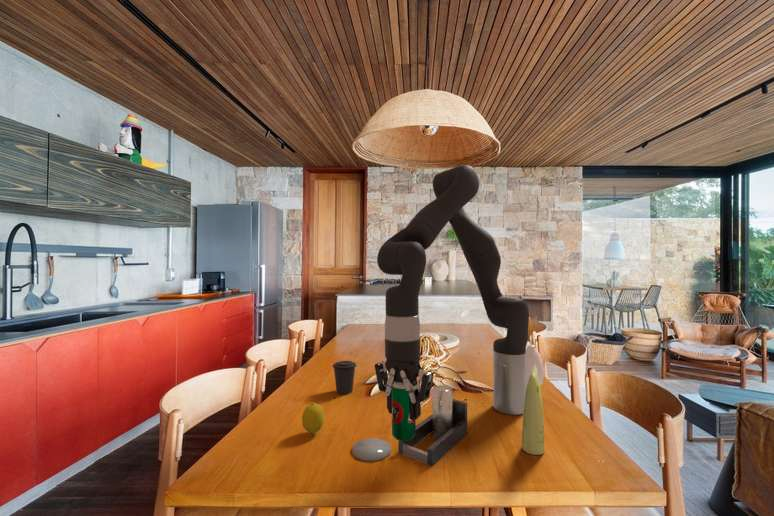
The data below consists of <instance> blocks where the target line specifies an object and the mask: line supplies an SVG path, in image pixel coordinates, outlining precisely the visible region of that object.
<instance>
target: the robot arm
mask: <svg viewBox="0 0 774 516" xmlns="http://www.w3.org/2000/svg"><path fill="white" fill-rule="evenodd" d="M432 189H433V193H434V196H435V199H433V200H432V201H431V202H429V203H428V204H426V205H425V206H424V207H422V208H421V209H420V210H419V211H418V212H417V213H416V214H415V215H414V216H413V218H412V219H411V220H410V222H409V223H408V224H407V225H406V227H404V228H403V229H401V230H399V231H398V232H396V233H395V234H394V235H392V236H391V237H390V238H388V239H387V240H385V242H384V243H383V244H382V245H381V246H380V248H379V250H378V252H377V258H376V261H377V266H378V268H379V270H380V271H382V272H383V273H384V274H386V275H390V276H392V275H393V276H395V275H396V276H401V278H400V282H399V284H398V285H394V286H391V287H388V288H387V289H386V291H385V320H384V356H385V358H386V361H384V360H383V361H380V362H377V363H375V364H374V371H375V374H376V381H377V385H378V387H377V388H378V390H379V391H380V392H383V393H384V394H385V395H386V409H387V410H388V411H387V412H388V413H389V414H391V415H392V400H391V385H392V384H393V381H395V380H396V381H400V382H404V385H405V388H406V391H407V392H408V393H409V396H410V399H411V403H410V416H411V420H413V421H415V420H418V419H419V417H421V414H422V410H421V409H422V406H421V405H422V404H421V403H423V402H425V401H427V400H428V399H430V394H431V391H432V390H431V389H432V385H433V381H434V372H433V371H432V370H430V371H426V370H425V369H422V366H421V364H420V358H421V326H420V325H421V323H420V317H419V316H420V315H419V307H420V306H419V302H420V301H419V296H420V290H421V286H422V283H423V278H424V274H425V270H426V267H427V254H426V250H427V249H428V248H430V247H431V246H432V244H433V243H434V242H435V240H436V238H437V237H438V236H439V234H440V233H441V231H442V230H443V229H444V228H445V226H446V225H447V224H448V223H449V224H450V226H451V228H452V230H453V232H454V234H455V237H456V238H457V241H458V243H459V246H460V248H461V250H462V253H463V255H464V258H465V260H466V263H467V265H468V267H469V270H470V271H471V273H472V276H473V278H474V280H475V283H476V286H477V288H478V290H479V291H478V292H479V293H480V297H481V299H482V302H483V303H482V304H483V306H484V309H485V313H486V315H487V316H486V317H487V318H488V320H489V321H490V323H491V324H492V325H493V326H494V327H499V328H501V329H506V336H504V337H502V338H501V337H500V338H497V339H495V340H494V341H493V349H492V350H493V351H492V352H493V353H492V354H493V355H492V357H493V358H492V359H493V363H492V364H493V374H492V375H493V378H492V379H493V392H492V393H493V399H492V400H493V401H492V402H493V405H492V406H493V409H495V411H497V412H499V413H502V414H506V415H511V416H513V415H514V416H516V415H517V416H518V415H523V412H524V402H525V395H526V348H527V345H528V340H529V327H530V326H529V325H530V323H529V322H530V311H529V306H528V304H527V303H526V301H525V300H524V299H521V298H515V297H505V296H504V295H503V294H502V292H501V290H500V287H499V285H498V284H499V283H498V279H499V278H498V276H499V273H500V269H501V264H502V257H501V255H500V252H499V249H498V246H497V244H496V241H495V239H494V237H493V236H492V235H491V233H489V232H488V230H486V229H485V228H484V227H483V226H482V225H480V224H479V223H477V222H476V221H475V220H473V219H472V218H471V216H469V214H468V213H467V212H466V211H465V209H464V206H465V205H467V204H468V203H469V202H470V201H471V200H472V199H474V198H475V197H476V196H477V194H478V192H479V189H480V178H479V175H478V173H477V171H476V170H475V169H474V168H473V166H471V165H469V164H463V165H457V166H455V167H452V168H449V169H447V170H443V171H441V172H439V173H437V174H435V175H434V176H433V179H432ZM388 374H389V375H388ZM418 377H419V379H418ZM412 383H414V386H411V384H412ZM414 390H415V392H414Z"/></svg>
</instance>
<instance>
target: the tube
mask: <svg viewBox="0 0 774 516" xmlns="http://www.w3.org/2000/svg"><path fill="white" fill-rule="evenodd" d="M543 406H544V405H543V397H542V389H541V386H540V382H539V376H538V371H537V368H536V363H535V365H534V367H533V370H532V373H531V375H530V377H529V380H528V384H527V389H526V395H525V402H524V412H523V414H522V416H523V417H522V428H521V429H522V432H521V435H522V436H521V449H522V450H523V451H524V452H526V453H527V454H530V455H532V456H533V455H534V456H540V455H543V454H544V453H545V428H544V427H545V426H544V425H545V424H544V423H545V422H544V421H545V420H544V407H543Z"/></svg>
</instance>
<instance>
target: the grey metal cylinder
mask: <svg viewBox="0 0 774 516" xmlns="http://www.w3.org/2000/svg"><path fill="white" fill-rule="evenodd" d="M453 390H454V389H453V388H452V387H451V386H449V385H443V384H442V385H441V384H440V385H434V386H433V387H432V414H433V432H432V438H433V437H434V438H435V439H434V438H433V439H434V440H435V441H437V440H438V439H439V438H441V437H442V436H443V435H444V434H445V433H447V432H448V431H449V430H450V429H451V428H453V399H454V398H453V397H454V396H453V392H454V391H453Z"/></svg>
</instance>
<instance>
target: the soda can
mask: <svg viewBox="0 0 774 516" xmlns="http://www.w3.org/2000/svg"><path fill="white" fill-rule="evenodd" d="M411 386H414V383H412V384H411ZM414 392H415V390H414ZM391 400H392V414H391V435H392V436H393V438H394V439H396V440H397V441H398V442H399V441H409V440H411V439H413V438H414V436H415V435H416V425H417V423H416V420H417V419H416V420H415V421H413V420H411V416H410V403H411V399H410V396H409V393H408V392H407V391H406V388H405V385H404V382H400V381H396V380H395V381H393V384H392V385H391Z"/></svg>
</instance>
